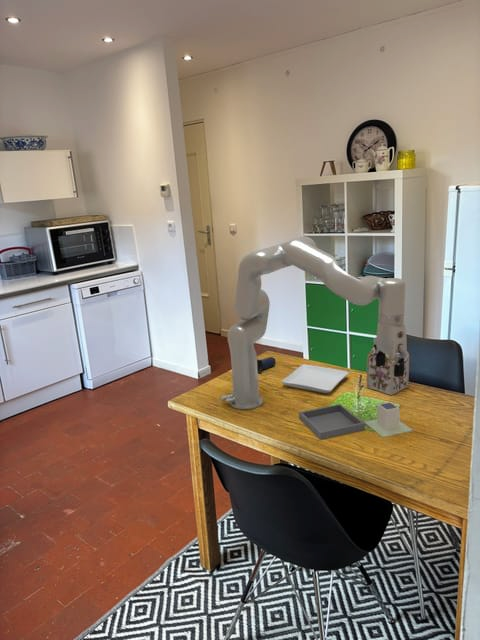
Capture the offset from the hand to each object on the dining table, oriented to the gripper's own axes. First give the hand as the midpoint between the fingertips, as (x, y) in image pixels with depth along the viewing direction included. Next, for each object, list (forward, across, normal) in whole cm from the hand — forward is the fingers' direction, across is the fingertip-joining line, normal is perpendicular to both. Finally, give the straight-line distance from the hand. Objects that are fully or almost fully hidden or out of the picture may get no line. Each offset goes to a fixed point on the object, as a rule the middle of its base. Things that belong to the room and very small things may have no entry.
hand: (389, 370), depth 155 cm
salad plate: (+21, +44, +4) cm, 49 cm away
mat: (+20, 0, 0) cm, 20 cm away
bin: (+20, +9, +16) cm, 27 cm away
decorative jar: (+20, +28, -19) cm, 39 cm away
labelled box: (+19, 0, 0) cm, 19 cm away
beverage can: (+21, +68, +17) cm, 73 cm away
